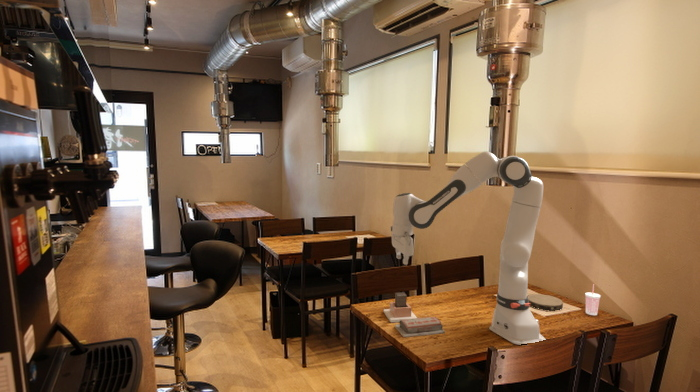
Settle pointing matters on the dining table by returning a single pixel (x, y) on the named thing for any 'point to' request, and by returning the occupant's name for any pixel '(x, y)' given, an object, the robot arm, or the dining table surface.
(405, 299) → the peg
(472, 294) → the dining table surface
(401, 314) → the square socket base
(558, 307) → the grey round disc
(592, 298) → the beverage cup
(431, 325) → the packaged product
